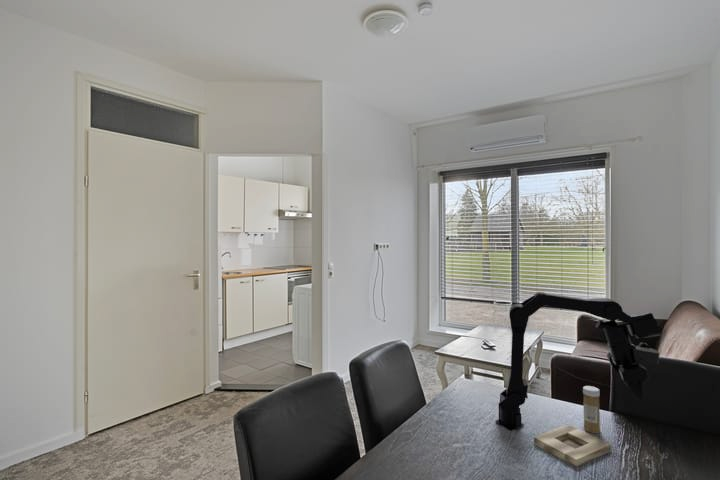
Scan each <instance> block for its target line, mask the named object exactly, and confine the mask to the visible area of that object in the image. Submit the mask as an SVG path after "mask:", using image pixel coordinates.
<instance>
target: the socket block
mask: <svg viewBox="0 0 720 480" xmlns="http://www.w3.org/2000/svg"><path fill="white" fill-rule="evenodd" d="M533 444H534V445H536V446H538V447H540V448H541V449H543V450H545V451H547V452H548V453H550V454H552V455H554V456H555V457H557V458H559V459H561V460H563V461H564V462H566V463H567V464H571V465H572V466H573V467H576V468H578V467H580V466H583V465H584V464H586V463H588V462H590V461H593V460H595V459H596V458H600V457H601V456H603V455H605V454H607V453H608V454H609V452H611V451H612V446H611V443H609V442H607V441H605V440H603V439H600V438H598V437H596V436H594V435H593V434H590V433H589V432H588V433H587V432H585V431H583V430H581V429H579V428H576V427H575V426H572V425H569V423H568V424H567V423H566V424H565V425H563V426H559V427H556V428H555V429H551V430H549V431H546V432H543V433H541V434H538V435H535V436H533Z"/></svg>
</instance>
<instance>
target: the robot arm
mask: <svg viewBox="0 0 720 480" xmlns="http://www.w3.org/2000/svg"><path fill="white" fill-rule="evenodd" d="M542 307H551V308H557V309H564V310H569V311H570V310H571V311H577V312H581V313H582V312H583V313H587V314H590V315H592V316H595V317H598V318H601V319H598V321H597V323H595V325H594V326H595V328H597V330H602V329H603V331H604V334H605V337H606V340H607V344H606V345H607V347H608V348H609V351H608V353H607V355H606V357H607V360H608V362H609V364H610V365H611V367H612V368H613V370H614V371H615V372H616V373H617V375H618V376H619V378H620V379H621V380H622V381H623V383H624V384H625V385H626V387H627V388H629V390H630V391H631V392H632V394H633V395H634V396H635V397H636V399H637V400H638V401H641V400H643V395H644V394H643V393H644V392H643V389H644V388H643V386H644V385H643V384H644V382H645V381H648V380H649V379H650V378H651V376H650V373H649V371H648V369H647V368H646V367H645V366H643V365H642V364H641V363H642V362H647V363H652V364H655V365H659V362H660V355H661V354H660V352H659V351H658V350H656V349H655V348H654V349H653V348H651V347H650V346H649V345H648V344H647V343H646V342H639V344H638V345H635V344H633V343H632V341H631V338H630V335H631V336H633V337H634V336H635V338H636V339H644V338H645V339H646V338H652V337H659V336H662V333H661V332H662V330H661V328H660V324H658V322H657V320H656V318H655V317H654V315H653V313H652V312H651V311H647V312H643V313H639V314H632V315H630V314H629V313H628V312H626V311H624V310H623V308H622V306H621V304H620V303H619V302H616V301H615V300H614V299H611V298H609V297H608V298H607V297H605V298H604V297H601V298H600V297H599V298H598V297H597V298H595V297H594V298H580V297H574V296H573V297H572V296H566V295H561V294H559V295H558V294H554V293H545V292H544V291H538V292H536V293H535V294H534V295H532V296H531V297H529V298H527V299H526V300H524V301H522V302H521V303H515V304H513V305H511V306H510V307H509V322H510V328H511V352H510V353H511V356H510V357H511V358H510V373H509V376H508V379H507V384H506V389H504V390H503V391H502V392H501V393H500V394H499V402H498V419H497V420H495V421H494V422H495V423H496V424H498V425H499V426H501V427H503V428H504V429H506V430H509V431H514V430H518V429H520V428H522V427H524V426H525V425H524V423H523V422H522V413H521V408H520V406H522V405H524V404H525V402H526V399H529V397H528V395H529V394H528V389H529V381H528V379H524V376H523V373H524V371H523V370H524V369H523V368H524V349H525V348H524V344H525V333H526V329H527V327H528V323H529V318H530V316H532V315H534V314H535V313H536V312H537V311H539V310H540V309H542ZM602 319H604V320H602ZM616 320H618V321H616ZM629 334H630V335H629Z"/></svg>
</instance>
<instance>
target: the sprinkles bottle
mask: <svg viewBox="0 0 720 480" xmlns="http://www.w3.org/2000/svg"><path fill="white" fill-rule="evenodd" d="M600 391H601V390H600V389H599V388H597V387H595V386H593V385H592V386H591V385H585V386H583V387H582V395H583V429H584V430H585V431H586V432H588V433H591V434H599V433H601V427H600V426H601V425H600V424H601V413H600V396H601V395H600V394H601V393H600Z"/></svg>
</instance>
